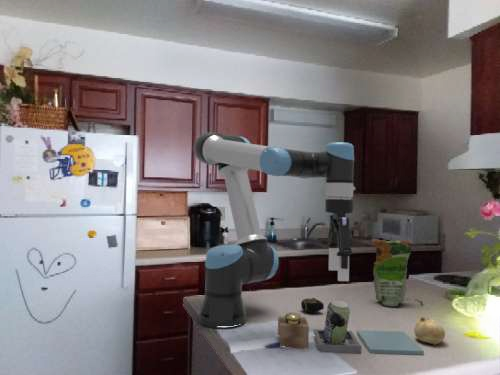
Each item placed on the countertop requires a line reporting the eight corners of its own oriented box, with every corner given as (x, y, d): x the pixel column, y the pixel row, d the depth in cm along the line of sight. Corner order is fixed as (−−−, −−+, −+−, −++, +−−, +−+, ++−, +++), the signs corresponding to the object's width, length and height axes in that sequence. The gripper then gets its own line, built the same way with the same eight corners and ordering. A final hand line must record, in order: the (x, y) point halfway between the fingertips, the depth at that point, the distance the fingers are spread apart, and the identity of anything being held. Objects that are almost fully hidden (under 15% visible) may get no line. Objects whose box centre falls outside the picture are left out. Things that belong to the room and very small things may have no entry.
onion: (435, 336, 115) (436, 313, 115) (450, 347, 107) (451, 322, 107) (409, 336, 115) (409, 312, 115) (422, 347, 107) (422, 321, 107)
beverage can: (329, 337, 112) (330, 296, 112) (353, 344, 107) (354, 301, 107) (318, 344, 107) (319, 300, 107) (343, 351, 102) (344, 306, 103)
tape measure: (325, 312, 133) (324, 301, 133) (307, 315, 131) (306, 304, 131) (315, 306, 140) (315, 296, 140) (298, 309, 138) (297, 299, 138)
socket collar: (318, 351, 102) (319, 344, 102) (313, 336, 113) (313, 329, 113) (360, 353, 102) (361, 345, 102) (351, 337, 113) (351, 330, 113)
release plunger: (285, 344, 105) (285, 317, 105) (284, 338, 110) (284, 312, 110) (301, 345, 105) (301, 318, 105) (299, 339, 110) (300, 312, 110)
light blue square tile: (370, 353, 102) (370, 349, 102) (356, 333, 116) (356, 330, 116) (423, 355, 102) (423, 351, 102) (403, 335, 116) (404, 331, 116)
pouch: (412, 304, 147) (413, 239, 147) (393, 309, 140) (395, 241, 140) (387, 297, 156) (388, 236, 156) (368, 302, 149) (369, 237, 150)
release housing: (279, 348, 104) (279, 325, 104) (277, 337, 112) (278, 316, 112) (308, 349, 104) (308, 326, 104) (304, 338, 111) (305, 317, 111)
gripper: (365, 199, 95) (363, 286, 95) (343, 198, 120) (342, 266, 120) (334, 199, 95) (332, 285, 95) (319, 197, 120) (317, 266, 120)
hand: (338, 275), depth 107 cm, fingers open, 13 cm apart
